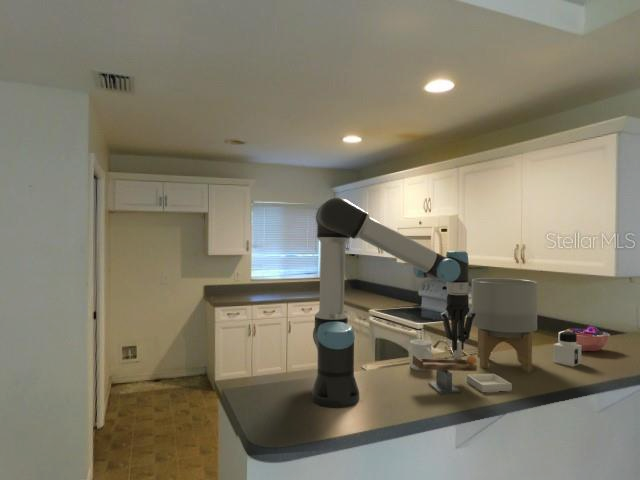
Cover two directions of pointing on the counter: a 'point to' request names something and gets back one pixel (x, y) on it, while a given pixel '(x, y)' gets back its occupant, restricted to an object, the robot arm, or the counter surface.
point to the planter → (505, 316)
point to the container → (567, 349)
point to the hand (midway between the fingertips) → (457, 358)
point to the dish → (489, 383)
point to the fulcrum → (444, 383)
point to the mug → (420, 351)
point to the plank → (443, 364)
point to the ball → (471, 360)
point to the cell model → (590, 338)
